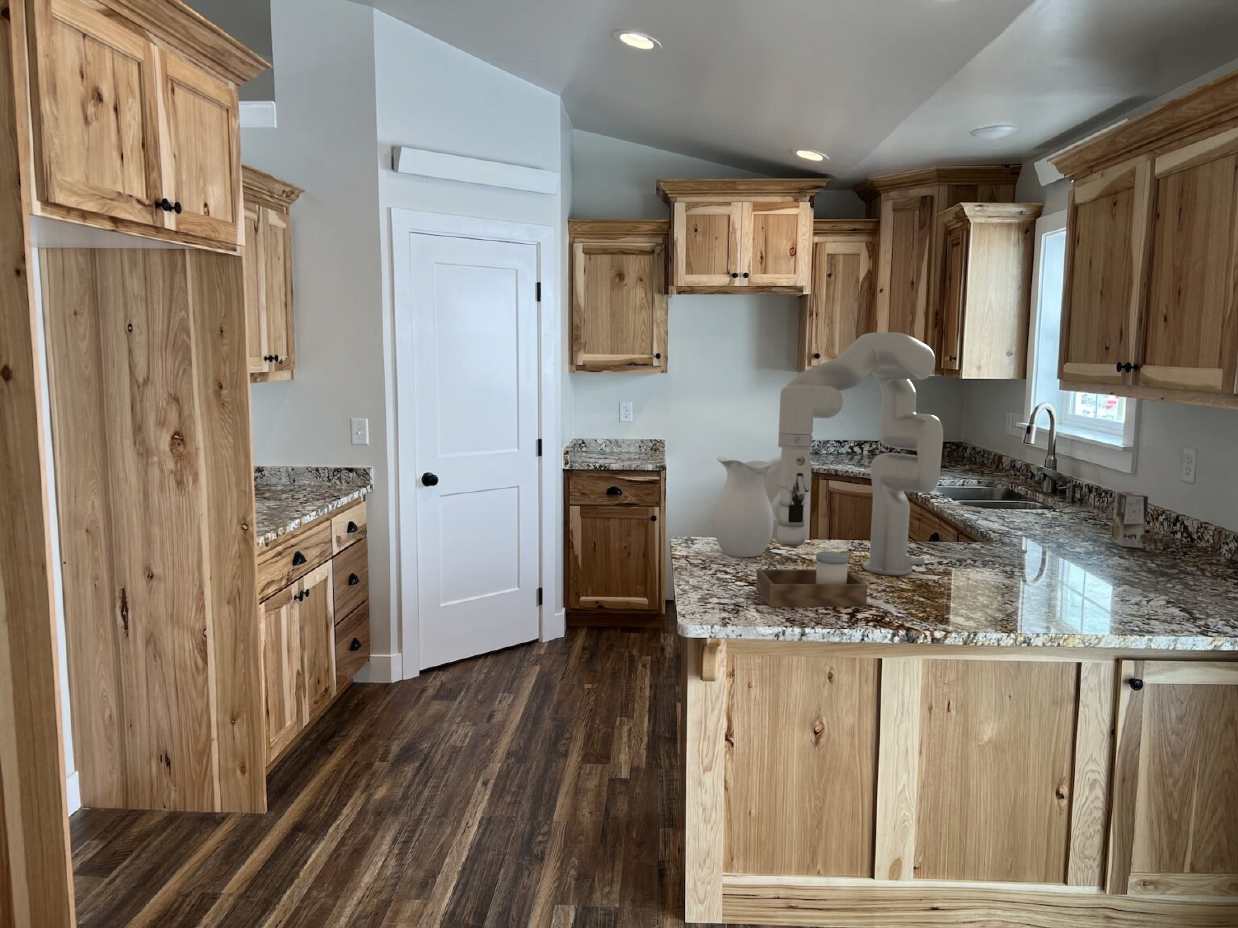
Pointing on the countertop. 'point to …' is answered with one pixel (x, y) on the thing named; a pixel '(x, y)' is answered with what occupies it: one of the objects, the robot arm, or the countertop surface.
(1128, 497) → the coffee box
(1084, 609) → the countertop surface
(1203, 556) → the countertop surface
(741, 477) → the pitcher
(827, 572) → the jar
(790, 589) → the crate
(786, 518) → the grey metal bottle
